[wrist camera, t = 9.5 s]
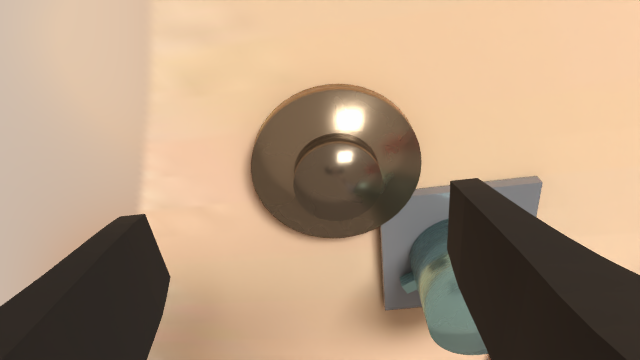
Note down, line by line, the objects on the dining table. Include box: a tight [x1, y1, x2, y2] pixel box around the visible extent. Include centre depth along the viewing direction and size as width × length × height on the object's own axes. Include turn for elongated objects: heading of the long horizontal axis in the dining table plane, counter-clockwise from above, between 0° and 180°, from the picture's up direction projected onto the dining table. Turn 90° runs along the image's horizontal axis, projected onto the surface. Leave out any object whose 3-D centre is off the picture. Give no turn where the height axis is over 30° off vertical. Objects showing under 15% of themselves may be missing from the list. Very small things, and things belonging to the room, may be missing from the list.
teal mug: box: [399, 219, 488, 355], centre depth 22 cm, size 7×5×4 cm
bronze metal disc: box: [251, 84, 421, 238], centre depth 20 cm, size 8×8×2 cm
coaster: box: [380, 176, 542, 310], centre depth 24 cm, size 8×8×1 cm
